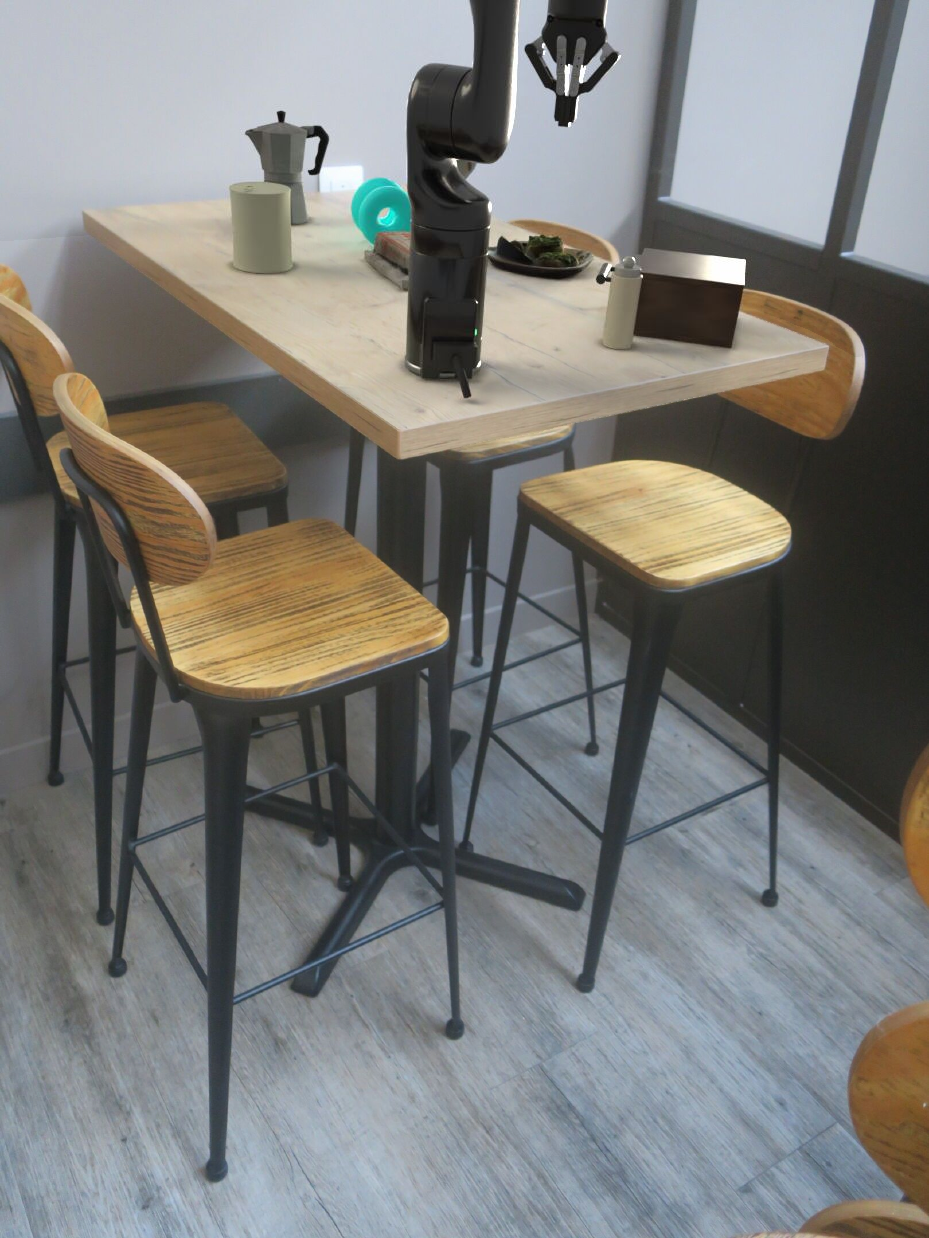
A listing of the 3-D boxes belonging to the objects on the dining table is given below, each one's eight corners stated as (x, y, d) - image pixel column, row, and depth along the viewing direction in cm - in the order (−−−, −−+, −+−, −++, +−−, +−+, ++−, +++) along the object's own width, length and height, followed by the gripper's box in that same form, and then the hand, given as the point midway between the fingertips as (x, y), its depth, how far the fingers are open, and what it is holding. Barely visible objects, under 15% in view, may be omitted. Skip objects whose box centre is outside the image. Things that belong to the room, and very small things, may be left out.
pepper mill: (635, 350, 140) (649, 260, 134) (606, 349, 140) (618, 259, 133) (627, 340, 144) (640, 253, 137) (598, 339, 143) (611, 252, 137)
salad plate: (516, 243, 187) (519, 216, 185) (609, 260, 181) (613, 232, 178) (467, 264, 172) (469, 235, 170) (566, 284, 166) (570, 254, 164)
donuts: (360, 250, 175) (360, 187, 170) (349, 236, 183) (349, 175, 178) (417, 250, 178) (420, 188, 172) (405, 236, 186) (407, 176, 180)
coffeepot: (257, 227, 185) (253, 115, 175) (241, 215, 192) (235, 106, 182) (338, 223, 191) (338, 115, 182) (320, 211, 198) (319, 107, 188)
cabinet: (625, 334, 146) (635, 271, 141) (635, 306, 158) (644, 247, 153) (731, 348, 144) (744, 285, 139) (733, 319, 156) (745, 259, 151)
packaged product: (362, 229, 168) (420, 227, 171) (361, 260, 170) (418, 258, 174) (402, 258, 154) (464, 255, 158) (401, 291, 157) (462, 288, 160)
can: (220, 266, 162) (215, 183, 155) (257, 255, 169) (254, 175, 162) (269, 277, 158) (266, 193, 152) (304, 265, 165) (303, 184, 159)
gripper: (523, -29, 129) (511, 124, 139) (630, -20, 127) (609, 135, 137) (534, -29, 136) (521, 118, 145) (635, -20, 134) (616, 128, 143)
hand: (564, 126), depth 141 cm, fingers closed
